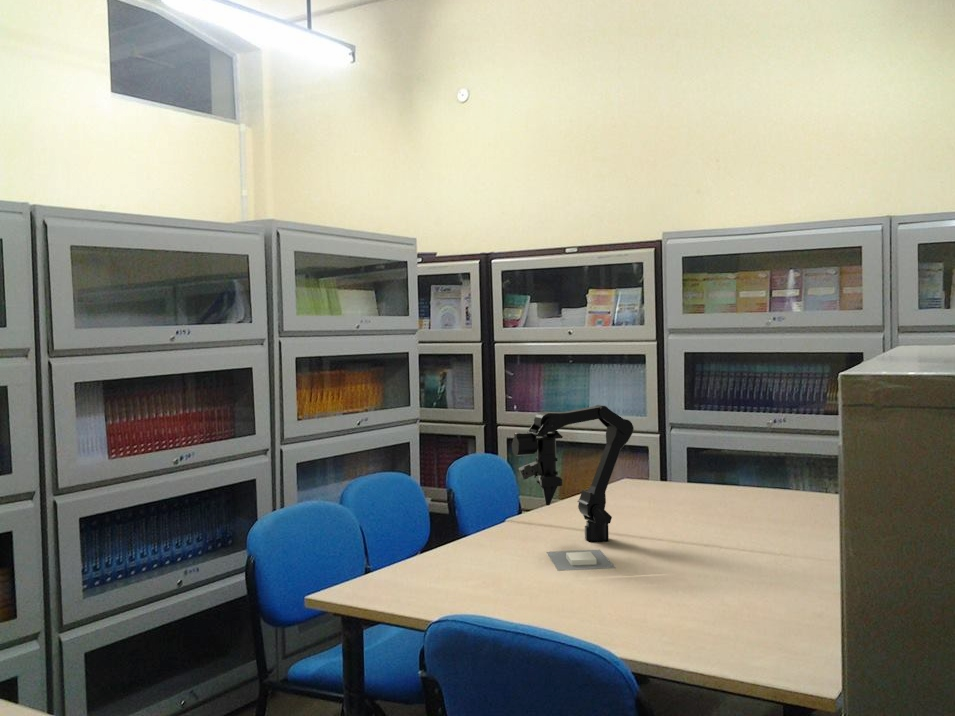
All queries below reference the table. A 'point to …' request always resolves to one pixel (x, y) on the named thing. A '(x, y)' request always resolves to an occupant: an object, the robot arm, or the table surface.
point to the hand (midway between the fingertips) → (547, 505)
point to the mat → (563, 564)
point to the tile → (581, 558)
